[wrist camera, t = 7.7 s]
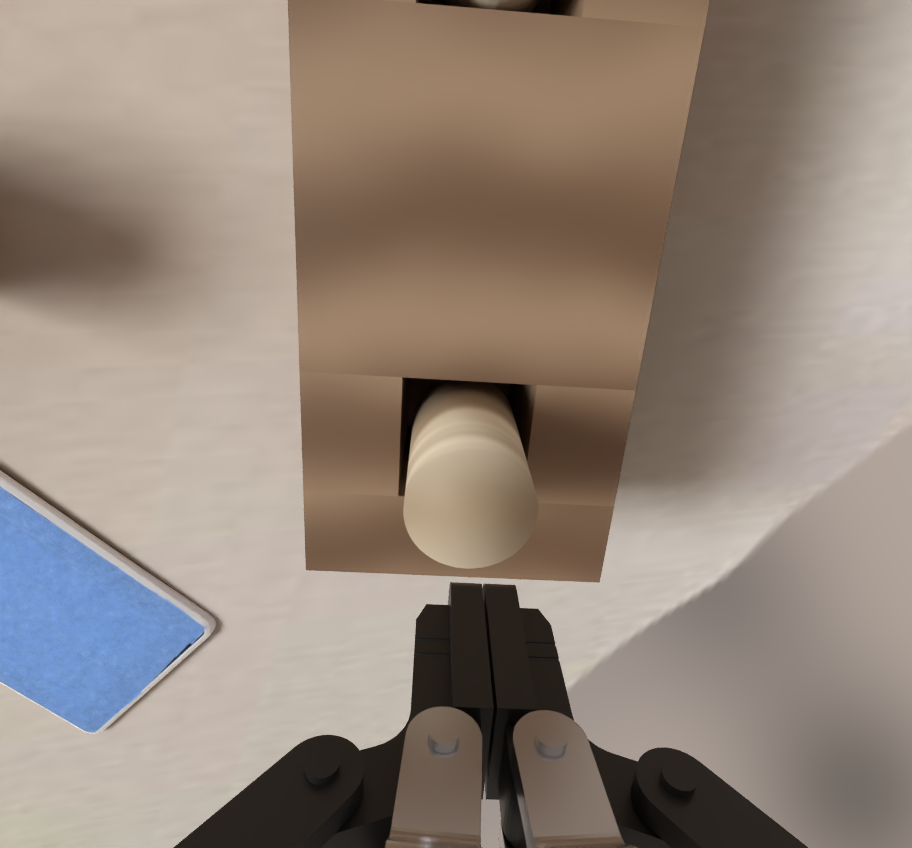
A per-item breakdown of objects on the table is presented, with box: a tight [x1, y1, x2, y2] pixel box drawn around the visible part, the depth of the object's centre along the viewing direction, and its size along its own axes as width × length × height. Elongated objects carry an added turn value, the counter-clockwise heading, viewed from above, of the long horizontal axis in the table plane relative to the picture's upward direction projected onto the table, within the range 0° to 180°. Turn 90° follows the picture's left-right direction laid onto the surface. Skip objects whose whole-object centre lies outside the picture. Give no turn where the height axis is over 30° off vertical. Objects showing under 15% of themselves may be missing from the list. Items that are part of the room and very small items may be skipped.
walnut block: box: [288, 0, 710, 582], centre depth 23 cm, size 28×12×8 cm, turn 176°
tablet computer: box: [0, 470, 216, 734], centre depth 34 cm, size 19×13×1 cm, turn 44°
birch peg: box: [403, 380, 538, 569], centre depth 21 cm, size 4×4×7 cm
